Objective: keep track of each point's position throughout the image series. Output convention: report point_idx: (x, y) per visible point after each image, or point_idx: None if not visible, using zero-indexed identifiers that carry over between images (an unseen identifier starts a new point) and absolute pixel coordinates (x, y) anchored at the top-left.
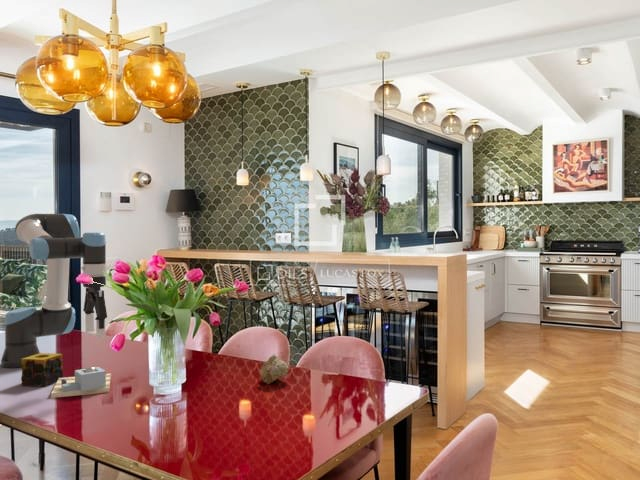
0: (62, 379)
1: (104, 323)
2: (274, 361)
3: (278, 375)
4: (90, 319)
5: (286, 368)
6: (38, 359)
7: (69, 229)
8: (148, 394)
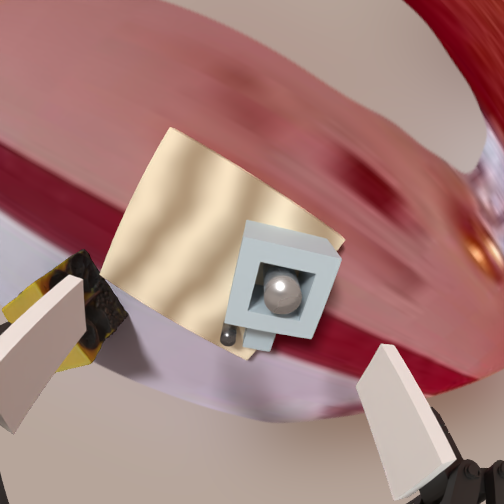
0: (121, 276)
1: (438, 429)
2: None
3: None
4: (26, 368)
5: None
6: (79, 366)
7: None
8: (448, 181)
